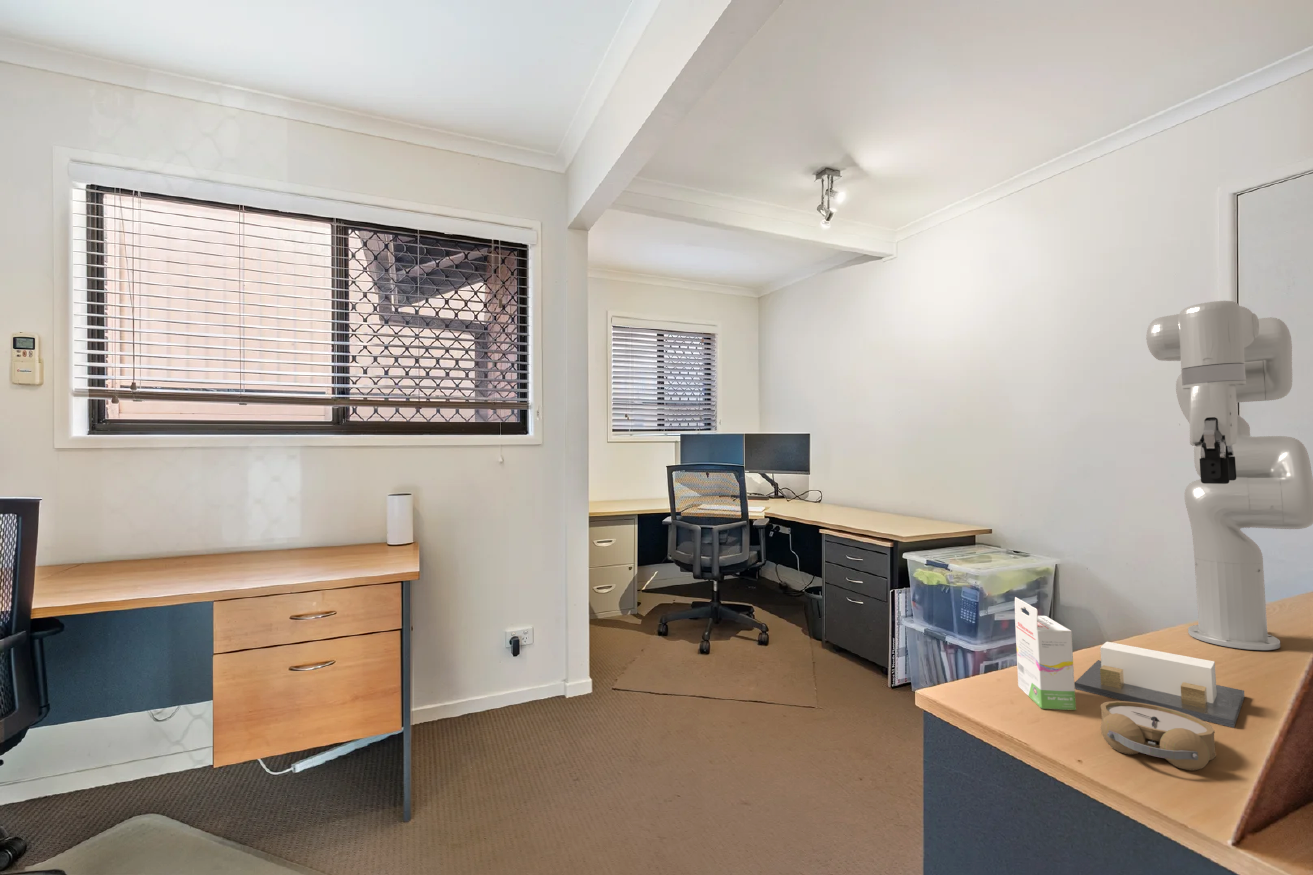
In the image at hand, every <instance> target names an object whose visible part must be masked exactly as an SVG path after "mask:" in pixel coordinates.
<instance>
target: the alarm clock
mask: <svg viewBox="0 0 1313 875" xmlns="http://www.w3.org/2000/svg"><path fill="white" fill-rule="evenodd" d="M1100 709H1101V710H1100V711H1101V724H1100V731H1101V735H1102V736H1103V739H1104V740H1105V742H1106V743H1107V744H1108V746H1110V747H1111V748H1112V749H1113V750H1115V751H1117V752H1118V753H1121V754H1124V755H1125V754H1126V755H1137V754H1139V753H1141V754H1146V755H1148V756H1152V757H1157V758H1161V759H1165V760H1166V761H1168V763H1169V764H1171V765H1172V766H1175V767H1176V768H1177V769H1181V770H1186V771H1198V770H1202V769H1203V768H1205V767H1206V766H1207V764H1209V761H1211V760H1214V758H1216V756H1217V753H1216V747H1215V729H1214V728H1213V726H1212V725H1211V724H1209V722H1207V721H1204V720H1200V719H1198V718H1196V717H1193V716H1191V715H1188V714H1185V713H1182V712H1179V711H1176V710H1172V709H1168V708H1164V707H1160V706H1155V705H1150V704H1144V703H1138V702H1129V701H1122V700H1110V701H1106V702H1103V703H1101V704H1100Z"/></svg>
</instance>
